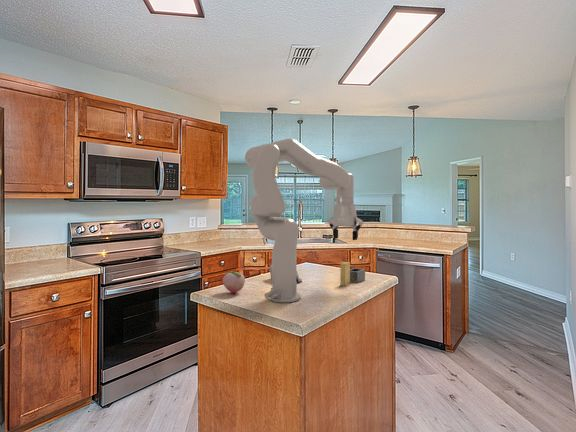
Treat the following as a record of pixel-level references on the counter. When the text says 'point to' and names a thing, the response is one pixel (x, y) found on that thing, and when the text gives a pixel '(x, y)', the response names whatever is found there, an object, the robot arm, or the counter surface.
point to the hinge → (297, 274)
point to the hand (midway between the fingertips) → (345, 239)
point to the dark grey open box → (357, 275)
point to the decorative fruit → (233, 281)
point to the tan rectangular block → (344, 273)
